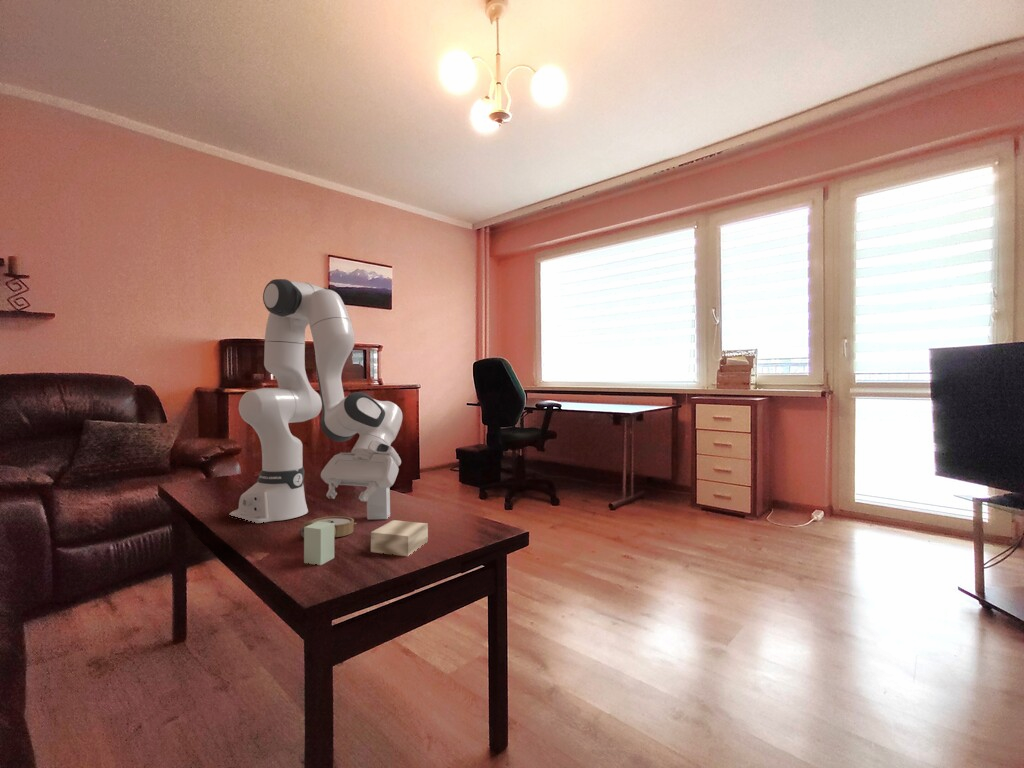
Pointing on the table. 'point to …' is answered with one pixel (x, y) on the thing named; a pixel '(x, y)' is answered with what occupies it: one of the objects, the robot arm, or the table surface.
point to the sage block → (319, 543)
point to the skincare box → (379, 504)
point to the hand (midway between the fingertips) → (345, 498)
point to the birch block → (399, 537)
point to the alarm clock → (341, 525)
